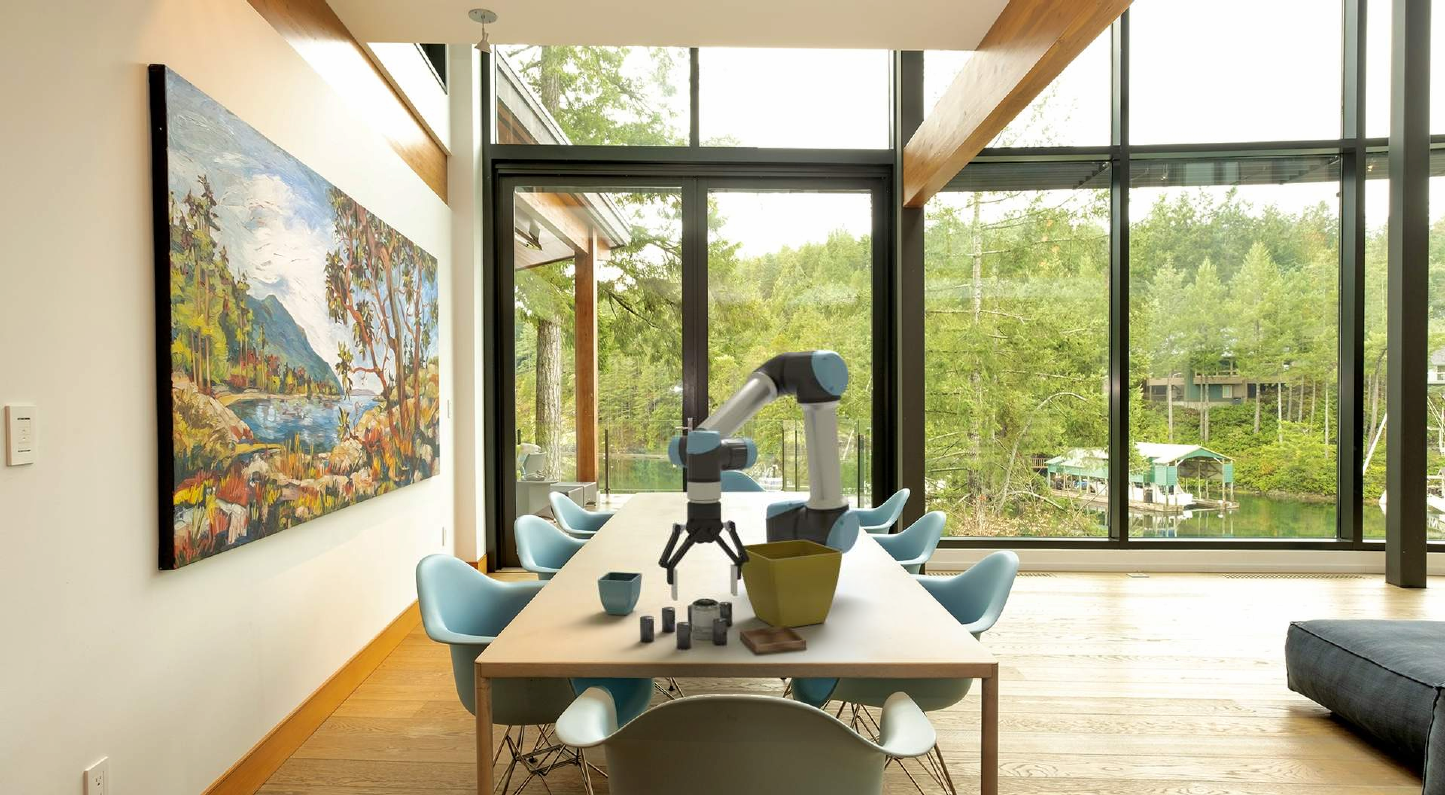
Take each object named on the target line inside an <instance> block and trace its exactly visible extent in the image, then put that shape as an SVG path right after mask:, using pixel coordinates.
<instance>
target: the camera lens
mask: <svg viewBox="0 0 1445 795" xmlns="http://www.w3.org/2000/svg"><path fill="white" fill-rule="evenodd" d="M719 603H720V602H719V601H717V600H715V599H712V598H699V599H697V600H695V601H693V602H692V603H691V604H690V605H691V607H692V630H691V632H692V636H693V638H694V639H696V640H700V641H701V640H702V641H703V640H704V641H711V640H713V619H716V618H720V604H719Z"/></svg>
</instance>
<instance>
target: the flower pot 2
mask: <svg viewBox="0 0 1445 795" xmlns="http://www.w3.org/2000/svg"><path fill="white" fill-rule="evenodd" d="M743 546H744V549H745V551H746V553H747V555H748V557H749V559H750V560H749V562H746V563H743V565H742V566H741V577H742V579H743V583H744V587H745V591H746V593H747V597H748V600H749V602H750V605H751V608H752V611H753V613H754V616H755V617H756V618H758V619H759V620H762V621H763V622H765V623H767V624H768V625H771V626H772V627H782V626H788V627H789V628H794V627H801V626H807V625H815V624H820V623H825V622H826V620H827V618H828V615H829V613H830V609H831V607H832V604H833V601H834V598H835V595H836V590H837V587H838V581H839V577H840V574H841V573H840V571H841V566H842V558H843V554H842V551H839V550H836V549H833V548H829V547H826V546H823V545H820V544H817V543H814V542H810V541H807V540H794V541H783V542H773V543H767V542H765V543H755V544H743ZM736 551H737V550H736ZM736 553H737V557H738V558H739V557H740V555H739V553H738V551H737V552H736Z"/></svg>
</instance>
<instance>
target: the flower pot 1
mask: <svg viewBox="0 0 1445 795" xmlns="http://www.w3.org/2000/svg"><path fill="white" fill-rule="evenodd" d="M642 578H643V573H641V572H623V571H622V572H621V571H609V572H607V573H606V574H604V575H603V576H602V577H600V578H598V579H597V586H598V592H599V598H600V603H601V605H602V608H603V609H604V610H605V612H606V613H607V615H622V616H628V615H629V614H630V613H631V612H632V611H633V610H634V609H635V607H636V605H637V603H638V601H639V597H640V596H641V588H642V587H641V586H642Z"/></svg>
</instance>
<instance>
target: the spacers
mask: <svg viewBox="0 0 1445 795" xmlns="http://www.w3.org/2000/svg"><path fill="white" fill-rule="evenodd" d="M718 603H719V604H720V618H716V619H713V639H712V644H713V646H718V647H719V646H720V647H721V646H726V645H727V644H728V627H732V626H733V602H731V601H722V602H718ZM691 605H692V604H689V605H687V621H678V622H677V623H676V607H674V606H665V607H661V632H662V633H667V634H671V633H675V632H676V649H678V650H684V651H685V650H686V651H687V650H689V649H691V648H692V644H691V643H692V637H691V636H692V634H691V632H692V607H691ZM639 639H640V640H639V641H640V642H641V643H643V644H644V643H645V644H648V643H652V642H653V643H654V642H655V618H654V616H653V615H643V616H640V617H639Z"/></svg>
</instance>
